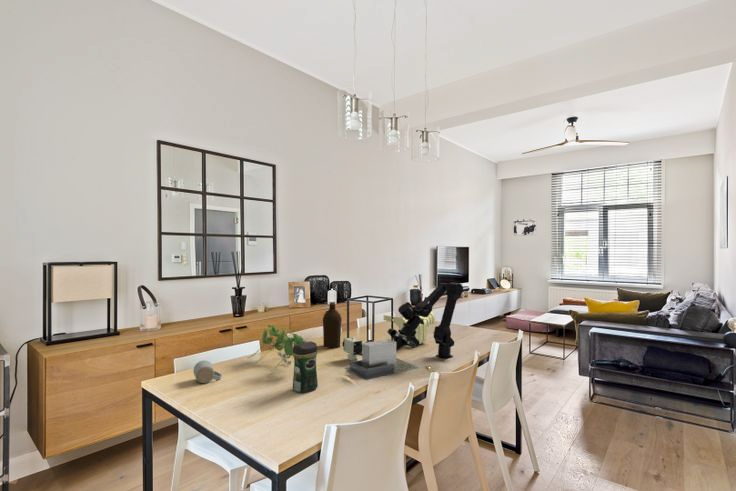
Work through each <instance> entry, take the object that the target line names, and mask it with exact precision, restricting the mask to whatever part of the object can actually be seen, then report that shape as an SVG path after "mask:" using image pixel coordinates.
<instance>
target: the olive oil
mask: <svg viewBox="0 0 736 491" xmlns="http://www.w3.org/2000/svg"><path fill="white" fill-rule="evenodd" d="M342 322H343V321H342V315H341V314H340V312H338V310H337V309H336V302H335V301H330V302H329V309H328V310H327V311H326V312H325V313H324V314H323V318H322V331H323V332H322V335H323V336H322V337H323V347H324V348H325V349H338V348H340V347H341V335H342V334H341V333H342Z"/></svg>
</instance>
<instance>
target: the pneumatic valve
mask: <svg viewBox="0 0 736 491" xmlns="http://www.w3.org/2000/svg"><path fill="white" fill-rule="evenodd" d="M362 343H363V340H360V339H358V338H355V337H345V338H343V341H342V344H341V345H342V347H343V352H345V353H348V354H347V359H348V360H349V361H350V362H355V361H358V355H362Z"/></svg>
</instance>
